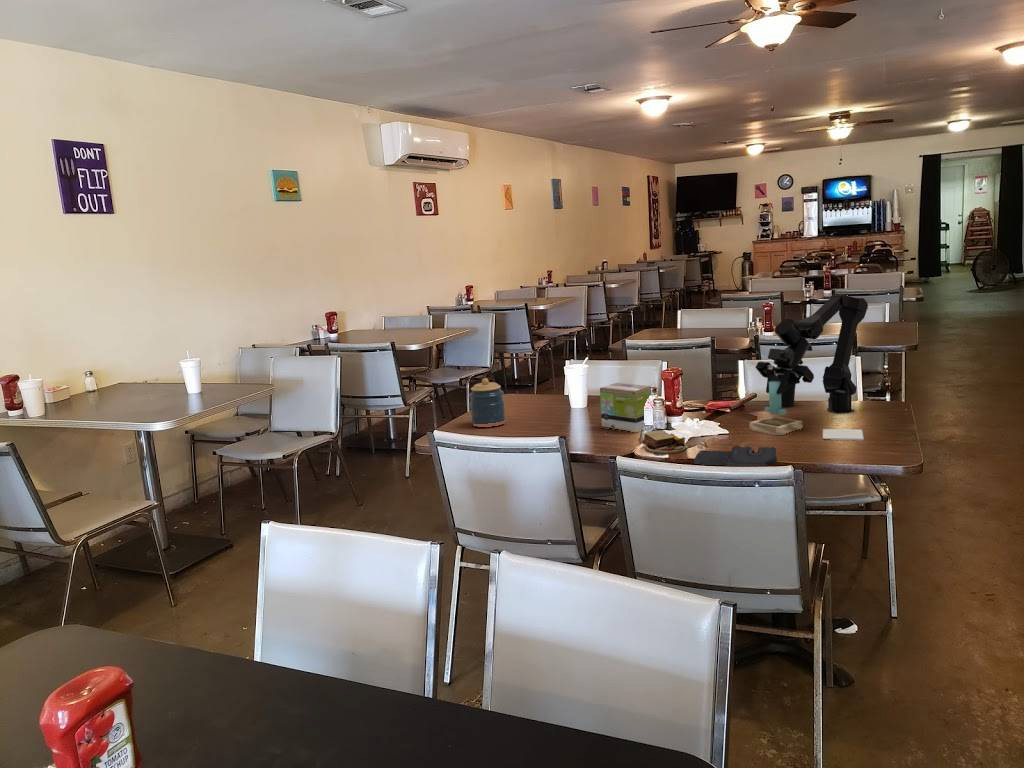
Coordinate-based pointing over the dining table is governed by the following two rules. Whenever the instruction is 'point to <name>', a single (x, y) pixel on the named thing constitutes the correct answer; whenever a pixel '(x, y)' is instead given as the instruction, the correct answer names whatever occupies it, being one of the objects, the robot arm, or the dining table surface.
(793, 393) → the cup
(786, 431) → the socket collar
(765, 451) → the dark slate chunk
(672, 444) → the toy sandwich meal
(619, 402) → the tea box
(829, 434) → the mat
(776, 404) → the t key
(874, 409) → the dining table surface
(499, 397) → the canister
